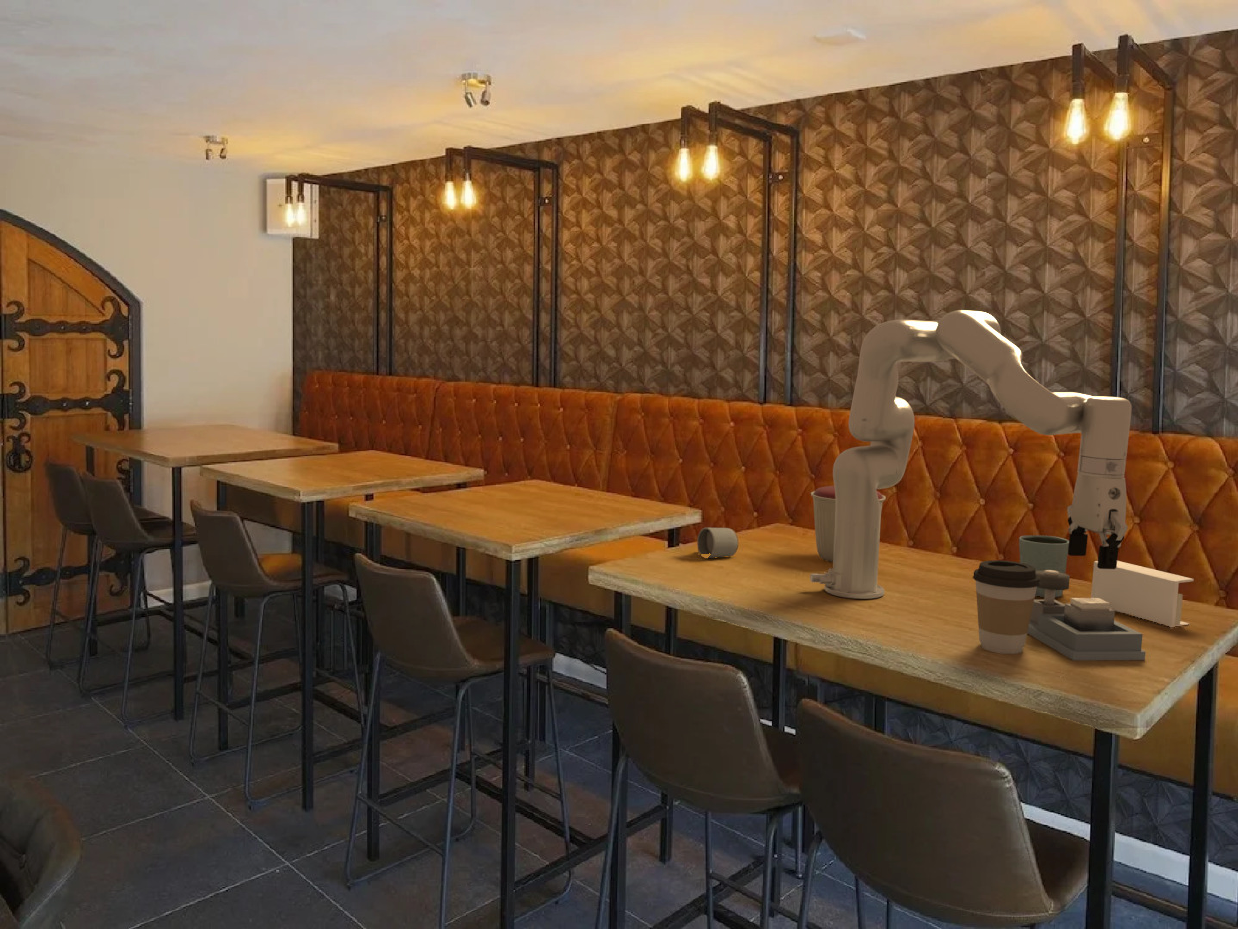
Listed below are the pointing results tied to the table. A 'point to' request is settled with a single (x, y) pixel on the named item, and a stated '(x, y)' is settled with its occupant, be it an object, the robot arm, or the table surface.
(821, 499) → the canister
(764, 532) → the table surface
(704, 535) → the ceramic mug
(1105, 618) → the beige block
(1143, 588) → the beige beam
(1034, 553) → the green tumbler
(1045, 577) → the round knob on base
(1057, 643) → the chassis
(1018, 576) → the coffee cup
